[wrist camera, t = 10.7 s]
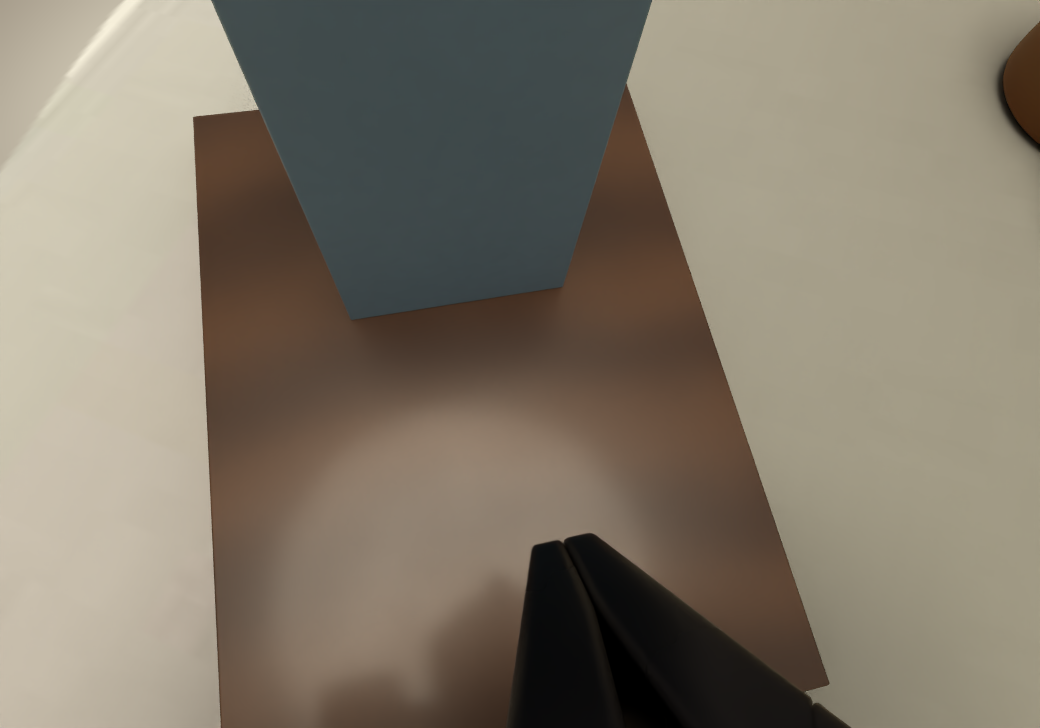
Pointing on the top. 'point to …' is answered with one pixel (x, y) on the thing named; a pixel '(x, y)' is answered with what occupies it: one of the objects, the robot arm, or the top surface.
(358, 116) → the pen caddy
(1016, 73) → the mug
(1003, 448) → the top surface
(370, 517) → the walnut board
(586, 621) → the robot arm
